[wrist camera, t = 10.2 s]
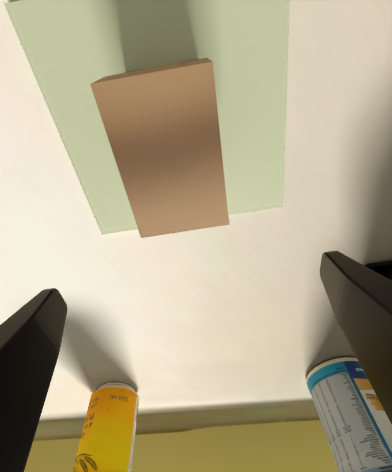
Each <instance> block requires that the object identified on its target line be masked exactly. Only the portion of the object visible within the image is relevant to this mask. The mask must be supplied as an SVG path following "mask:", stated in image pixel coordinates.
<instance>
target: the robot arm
mask: <svg viewBox="0 0 392 472" xmlns="http://www.w3.org/2000/svg"><path fill="white" fill-rule="evenodd" d="M320 276H321V279H322V282H323V285H324V287H325V290H326V293H327V295H328V298H329V301H330V303H331V306H332V308H333V311H334V314H335V316H336V318H337V320H338V323H339V325H340V327H341V328H342V330H343V332H344V334H345V336H346V338H347V340H348V342H349V344H350V346H351V348H352V350H353V351H354V353H355V355H356V357H357V359H358V361H359V363H360V365H361V367H362V369H363V371H364V373H365V375H366V376H367V378H368V380H369V382H370V384H371V386H372V388H373V390H374V392H375V394H376V396H377V398H378V400H379V401H380V403H381V405H382V407H383V409H384V411H385V413H386V415H387V417H388V419H389V421H390V423H391V424H392V261H388V262H381V263H374V264H368V265H366V266H364V265H362V264H360V263H358V262H356V261H355V260H353V259H351V258H349V257H347V256H345V255H344V254H342V253H340V252H338V251H329V252H325V253H323V255H322V260H321V267H320ZM66 314H67V305H66V302H65V301H64V299H63V298H62V296H61V294H60V293H59V291H58V290H57V289H55V288H52V289H45V290H42V291H41V292H40V293H39V294H37V295H36V296H35V297H34V298H33V299H31V300H30V301H29V302H28V303H27V304H25V305H24V306H23V307H22V308H20V309H19V310H18V311H17V312H16V313H14V314H13V315H12V316H11V317H9V318H8V319H7V320H6V321H5V322H3V323H2V324H1V325H0V472H24V469H25V466H26V462H27V459H28V456H29V452H30V449H31V446H32V442H33V439H34V436H35V432H36V429H37V426H38V422H39V419H40V416H41V412H42V409H43V406H44V402H45V399H46V396H47V392H48V389H49V386H50V382H51V379H52V375H53V372H54V369H55V365H56V362H57V359H58V355H59V351H60V347H61V341H62V336H63V331H64V325H65V320H66Z"/></svg>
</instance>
